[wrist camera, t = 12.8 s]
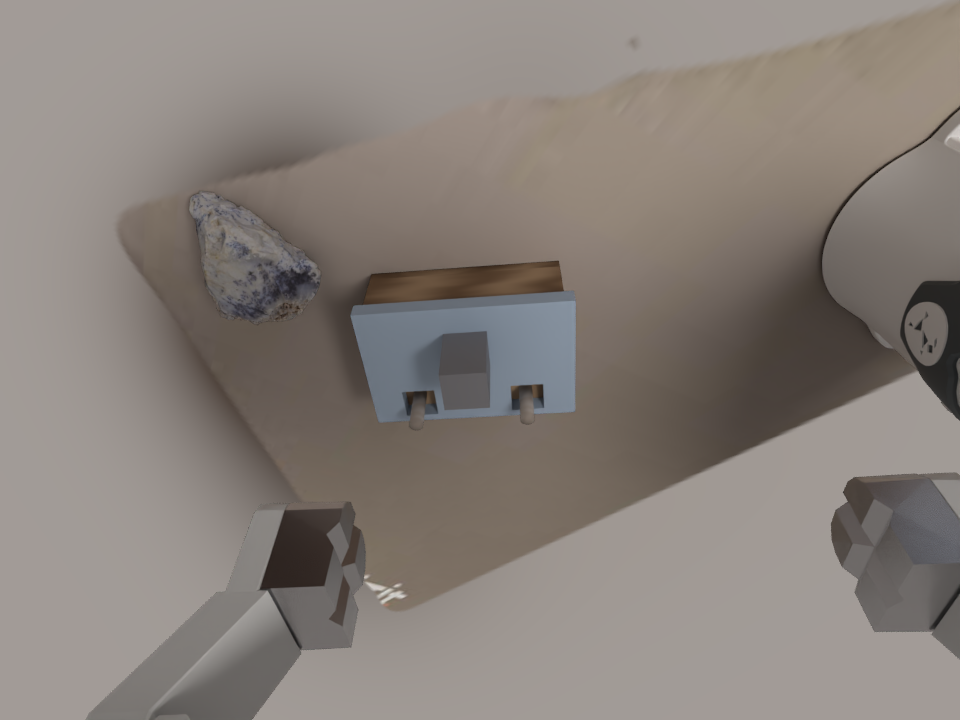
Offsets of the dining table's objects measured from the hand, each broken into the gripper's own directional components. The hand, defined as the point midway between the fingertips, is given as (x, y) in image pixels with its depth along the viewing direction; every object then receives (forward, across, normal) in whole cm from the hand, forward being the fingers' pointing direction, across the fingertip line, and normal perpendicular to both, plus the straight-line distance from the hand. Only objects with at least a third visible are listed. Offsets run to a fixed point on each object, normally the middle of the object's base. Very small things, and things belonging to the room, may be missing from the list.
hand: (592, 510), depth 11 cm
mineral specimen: (+35, +19, +12) cm, 42 cm away
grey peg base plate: (+29, +5, +19) cm, 35 cm away
